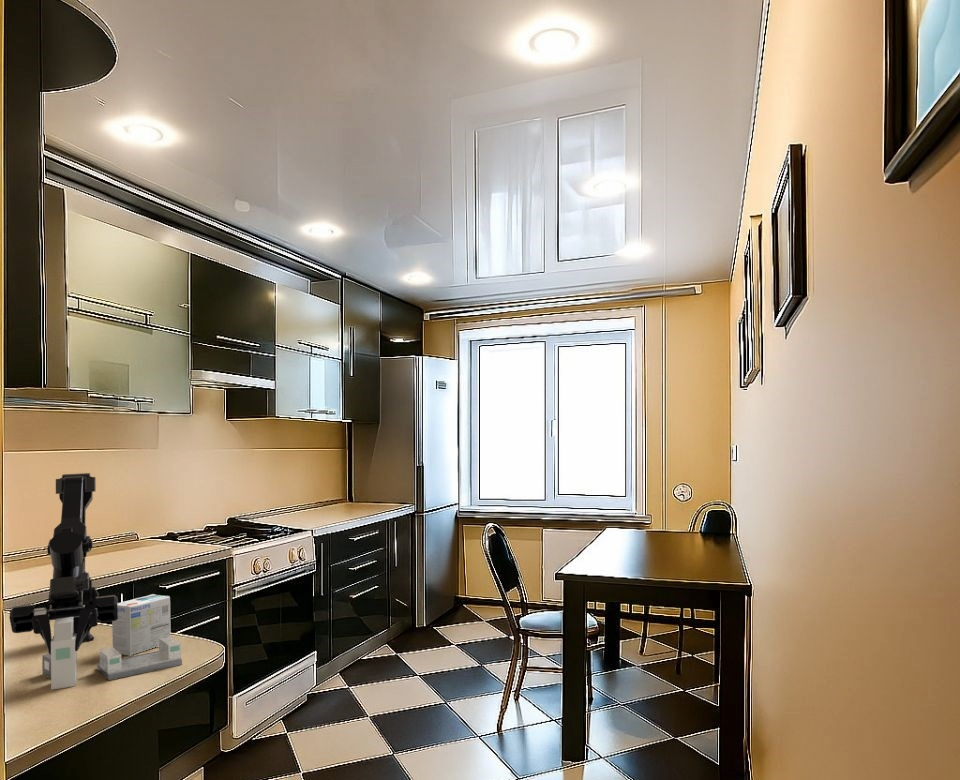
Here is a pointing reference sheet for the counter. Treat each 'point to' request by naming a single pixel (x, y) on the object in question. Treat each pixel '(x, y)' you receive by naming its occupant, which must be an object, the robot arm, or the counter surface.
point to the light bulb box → (141, 624)
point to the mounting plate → (140, 660)
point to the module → (63, 654)
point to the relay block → (46, 665)
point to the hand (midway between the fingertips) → (63, 651)
